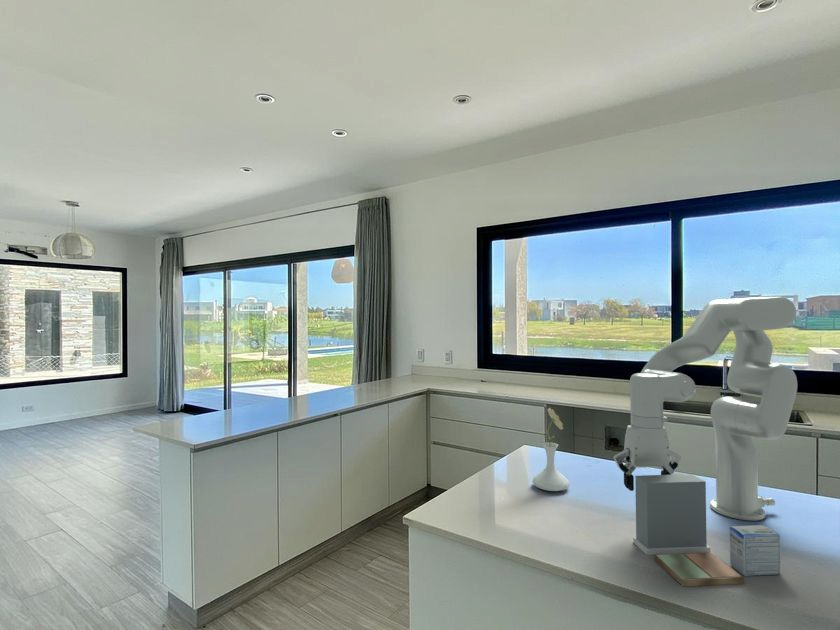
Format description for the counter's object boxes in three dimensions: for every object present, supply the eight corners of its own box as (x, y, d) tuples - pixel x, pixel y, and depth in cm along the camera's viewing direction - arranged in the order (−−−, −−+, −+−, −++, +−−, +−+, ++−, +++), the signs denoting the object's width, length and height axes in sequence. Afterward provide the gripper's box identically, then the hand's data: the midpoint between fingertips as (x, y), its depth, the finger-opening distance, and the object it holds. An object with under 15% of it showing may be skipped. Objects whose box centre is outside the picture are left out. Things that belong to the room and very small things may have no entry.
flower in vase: (569, 496, 137) (568, 414, 137) (531, 492, 140) (530, 412, 141) (569, 481, 149) (568, 406, 150) (534, 478, 153) (533, 404, 153)
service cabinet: (693, 539, 110) (692, 473, 110) (710, 552, 104) (709, 482, 104) (633, 542, 109) (632, 475, 109) (646, 555, 103) (645, 484, 103)
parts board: (710, 557, 102) (709, 551, 102) (744, 583, 92) (744, 577, 92) (654, 559, 101) (654, 553, 101) (682, 586, 91) (682, 579, 91)
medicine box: (764, 564, 99) (763, 524, 99) (781, 575, 94) (780, 534, 94) (729, 565, 99) (728, 525, 99) (744, 576, 94) (744, 535, 94)
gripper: (670, 417, 120) (671, 482, 120) (607, 419, 119) (608, 484, 119) (688, 424, 113) (689, 493, 113) (621, 426, 112) (622, 495, 112)
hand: (647, 488), depth 116 cm, fingers open, 9 cm apart
